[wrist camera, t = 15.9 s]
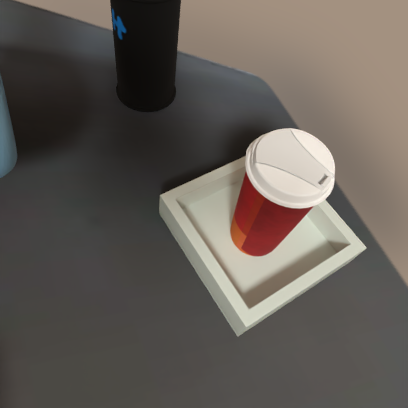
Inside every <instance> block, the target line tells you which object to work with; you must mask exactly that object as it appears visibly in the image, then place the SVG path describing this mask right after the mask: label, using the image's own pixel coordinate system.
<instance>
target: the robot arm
mask: <svg viewBox="0 0 408 408" xmlns="http://www.w3.org/2000/svg"><path fill="white" fill-rule="evenodd" d="M16 161H17V150H16V144H15V139H14V133H13V128H12V124H11V119H10V114H9V109H8V105H7V100H6V95H5V91H4V87H3V82H2V78H1V73H0V178H1V177H4V176H5V175H6V174H8V173H9V172H10V171H11V170H12V169H13V168H14V166H15V164H16Z"/></svg>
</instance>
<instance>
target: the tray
mask: <svg viewBox="0 0 408 408" xmlns="http://www.w3.org/2000/svg"><path fill="white" fill-rule="evenodd" d="M245 161H246V156H244V157H242V158H240V159H238V160H236V161H234V162H231V163H229V164H227V165H225V166H223V167H220V168H218V169H216V170H214V171H212V172H209V173H207V174H205V175H203V176H201V177H199V178H196V179H194V180H192V181H190V182H188V183H185V184H183V185H181V186H179V187H177V188H174V189H172V190H170V191H168V192H166V193H164V194H161V195H160V205H159V214H160V216H161V217H162V219H163V220H164V222H165V223H166V225H167V227H168V228H169V230H170V231H171V233H172V234H173V236H174V238H175V239H176V241H177V242H178V244H179V245H180V247H181V249H182V250H183V252H184V253H185V255H186V256H187V258H188V260H189V261H190V263H191V264H192V266H193V267H194V269H195V271H196V272H197V274H198V275H199V277H200V278H201V280H202V282H203V283H204V285H205V286H206V288H207V289H208V291H209V293H210V294H211V296H212V297H213V299H214V300H215V302H216V304H217V305H218V307H219V308H220V310H221V311H222V313H223V315H224V316H225V318H226V319H227V321H228V322H229V324H230V326H231V327H232V329H233V330H234V332H235V333H236V335H237V337H238V336H239V335H241V334H242V333H244V332H245V331H247V330H248V329H250V328H251V327H253V326H254V325H256V324H257V323H259V322H260V321H262V320H263V319H265V318H266V317H268V316H269V315H271V314H273V313H274V312H276V311H277V310H279V309H280V308H282V307H283V306H285V305H286V304H288V303H289V302H291V301H292V300H294V299H295V298H297V297H298V296H300V295H301V294H303V293H304V292H306V291H307V290H309V289H310V288H312V287H313V286H315V285H316V284H318V283H319V282H321V281H322V280H324V279H325V278H327V277H328V276H330V275H331V274H333V273H334V272H336V271H337V270H339V269H340V268H342V267H343V266H345V265H346V264H348V263H349V262H350V261H352V260H353V259H354V258H355V257H356V256H358V255H359V254H360V253H361V252H362V251H364V250H365V249H366V247H365V246H364V244H363V243H362V242H361V241H360V240H359V239H358V237H357V236H356V235H355V234H354V233H353V232H352V230H351V229H350V228H349V227H348V226H347V225H346V223H345V222H344V221H343V220H342V219H341V218H340V216H339V215H338V214H337V213H336V212H335V211H334V209H333V208H332V207H331V206H330V205H329V204H328V203H327V201H326V200H324V201H322V202H321V203H319V204H317V205H315V206H314V207H313V208H312V209H311V210H310V211H309V212H308V213H307V214H306V216H305V217H304V218H303V219H302V220H301V221H300V222H299V223H298V224H297V226H296V227H295V228H294V229H293V230H292V231H291V232H290V233H289V234H288V235H287V237H286V238H285V239H284V240H283V241H282V242H281V243H280V244H279V245H278V246H277V247H276V248H275V249H274V250H273V251H272V252H270V253H269V254H267V255H264V256H259V257H256V256H250V255H247V254H245V253H243V252H241V251H240V250H239V249H238V248H237V247H236V246H235V244H234V243H233V241H232V238H231V234H230V229H231V223H232V219H233V215H234V211H235V208H236V204H237V201H238V197H239V193H240V190H241V186H242V183H243V179H244V176H245V172H246V166H245Z"/></svg>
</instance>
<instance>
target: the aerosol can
mask: <svg viewBox="0 0 408 408" xmlns="http://www.w3.org/2000/svg"><path fill="white" fill-rule="evenodd" d="M110 2H111V13H112V22H113V35H114V46H115V58H116V69H117V80H118V83H117V87H116V90H117V95H118V97H119V99H120V100H121V101H122V102H123V103H124V104H125V105H126V106H128V107H130V108H132V109H134V110H138V111H143V112H153V111H158V110H161V109H163V108H165V107H167V106H168V105H169V104H171V102H172V101H173V100H174V97H175V94H176V88H175V85H174V84H175V71H176V58H177V44H178V30H179V17H180V4H181V0H110Z"/></svg>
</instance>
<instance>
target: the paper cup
mask: <svg viewBox="0 0 408 408" xmlns="http://www.w3.org/2000/svg"><path fill="white" fill-rule="evenodd" d="M245 166H246V172H245V176H244V179H243V183H242V186H241V190H240V193H239V197H238V201H237V204H236V208H235V211H234V215H233V219H232V223H231V229H230V234H231V238H232V241H233V243H234V244H235V246H236V247H237V248H238V249H239V250H240V251H241V252H243V253H245V254H247V255H250V256H256V257H259V256H264V255H267V254H269V253H270V252H272V251H273V250H274V249H275V248H276V247H277V246H278V245H279V244H280V243H281V242H282V241H283V240H284V239H285V238H286V237H287V235H288V234H289V233H290V232H291V231H292V230H293V229H294V228H295V227H296V226H297V224H298V223H299V222H300V221H301V220H302V219H303V218H304V217H305V216H306V214H307V213H308V212H309V211H310V210H311V209H312V208H313V207H314V206H315V205H317V204H319V203H321V202H322V201H324V200H325V199H326V198H327V197H328V196H329V194H330V193H331V191H332V189H333V186H334V180H335V179H334V174H335V164H334V160H333V157H332V155H331V153H330V151H329V150H328V149H327V147H326V146H325V145H324V144H323V143H322V142H321V141H320V140H319V139H317V138H316V137H314V136H313V135H311V134H309V133H306V132H304V131H301V130H298V129H292V128H288V129H279V130H274V131H271V132H270V133H266V134H264V135H262V136H260V137H259V138H257V139H256V140H254V141H253V142H252V143H251V144H250V146H249V147H248V149H247V151H246V161H245Z"/></svg>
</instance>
